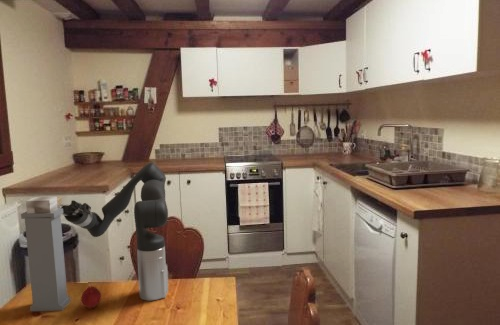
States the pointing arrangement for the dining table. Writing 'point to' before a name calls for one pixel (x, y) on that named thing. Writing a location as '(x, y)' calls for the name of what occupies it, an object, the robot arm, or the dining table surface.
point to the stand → (46, 260)
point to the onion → (91, 297)
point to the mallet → (43, 204)
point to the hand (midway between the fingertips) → (59, 203)
